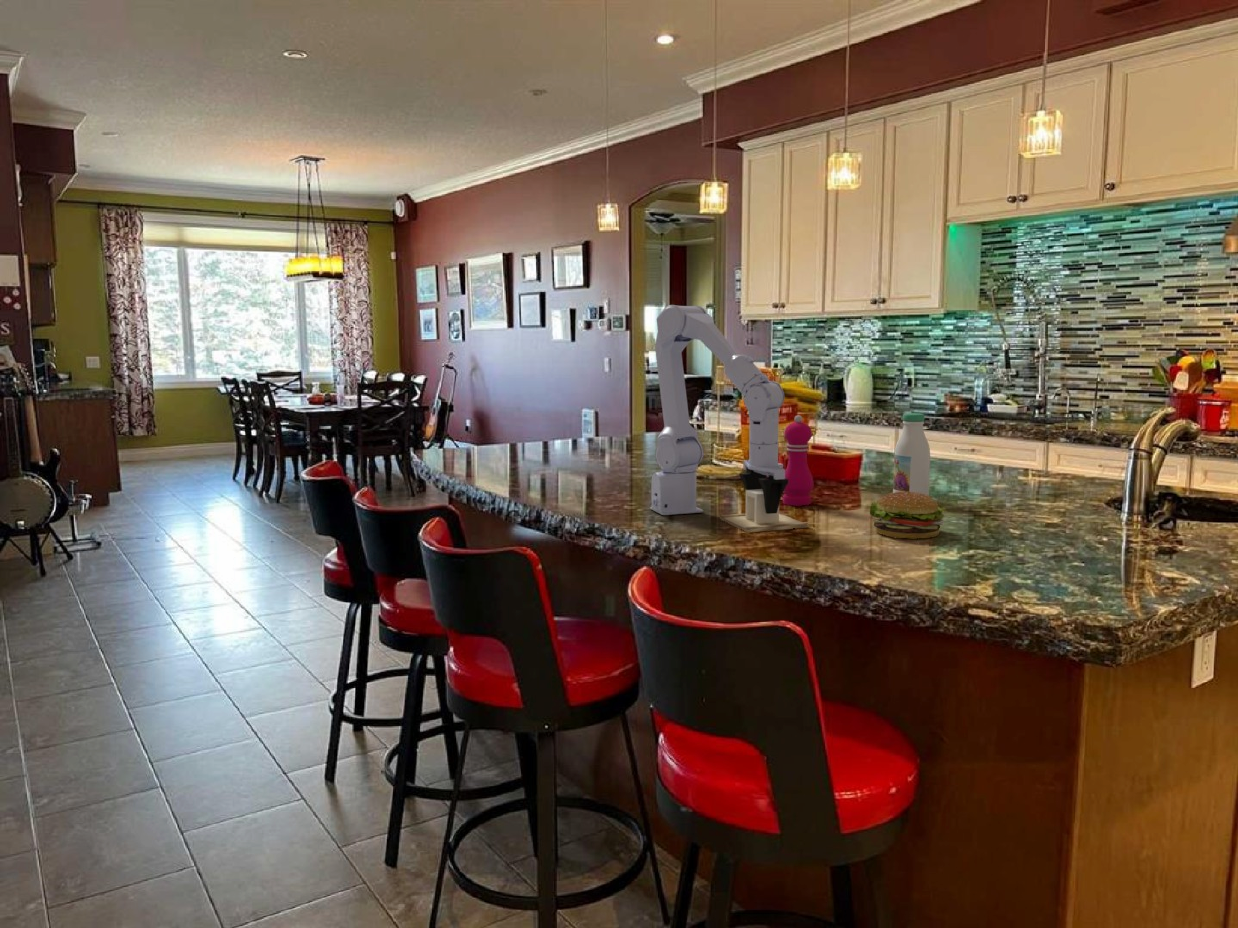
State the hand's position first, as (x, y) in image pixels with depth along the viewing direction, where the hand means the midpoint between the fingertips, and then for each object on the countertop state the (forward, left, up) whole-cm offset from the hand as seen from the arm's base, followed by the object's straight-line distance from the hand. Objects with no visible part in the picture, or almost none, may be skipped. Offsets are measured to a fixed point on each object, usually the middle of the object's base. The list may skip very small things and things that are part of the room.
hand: (763, 509), depth 179 cm
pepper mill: (+17, +17, -3) cm, 24 cm away
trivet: (0, 0, -3) cm, 3 cm away
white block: (0, 0, -2) cm, 2 cm away
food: (+22, -17, -3) cm, 28 cm away
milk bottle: (+42, +10, -3) cm, 43 cm away
